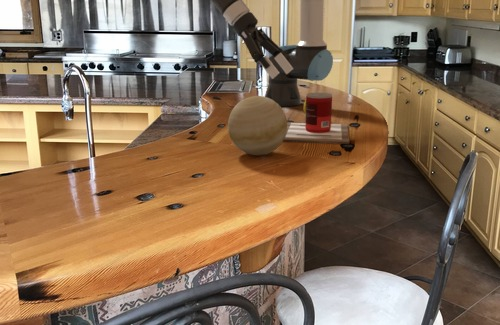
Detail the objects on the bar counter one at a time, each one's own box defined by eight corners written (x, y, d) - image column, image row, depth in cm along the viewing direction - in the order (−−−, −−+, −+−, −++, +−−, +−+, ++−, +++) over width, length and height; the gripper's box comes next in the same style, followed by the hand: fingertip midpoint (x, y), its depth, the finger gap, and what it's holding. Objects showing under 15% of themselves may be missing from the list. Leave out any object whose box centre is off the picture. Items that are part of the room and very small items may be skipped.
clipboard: (285, 123, 173) (285, 119, 172) (347, 125, 170) (347, 121, 170) (277, 141, 148) (277, 136, 148) (349, 143, 145) (349, 138, 145)
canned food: (332, 128, 161) (334, 93, 158) (327, 133, 154) (329, 96, 151) (308, 127, 164) (309, 91, 161) (302, 132, 156) (303, 95, 154)
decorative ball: (298, 156, 132) (300, 97, 128) (248, 165, 124) (248, 102, 120) (265, 144, 144) (265, 90, 140) (217, 152, 136) (216, 94, 132)
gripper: (247, 26, 174) (286, 77, 173) (215, 28, 151) (260, 86, 151) (264, 11, 170) (303, 62, 170) (233, 10, 148) (278, 69, 147)
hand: (283, 73), depth 160 cm, fingers open, 13 cm apart
